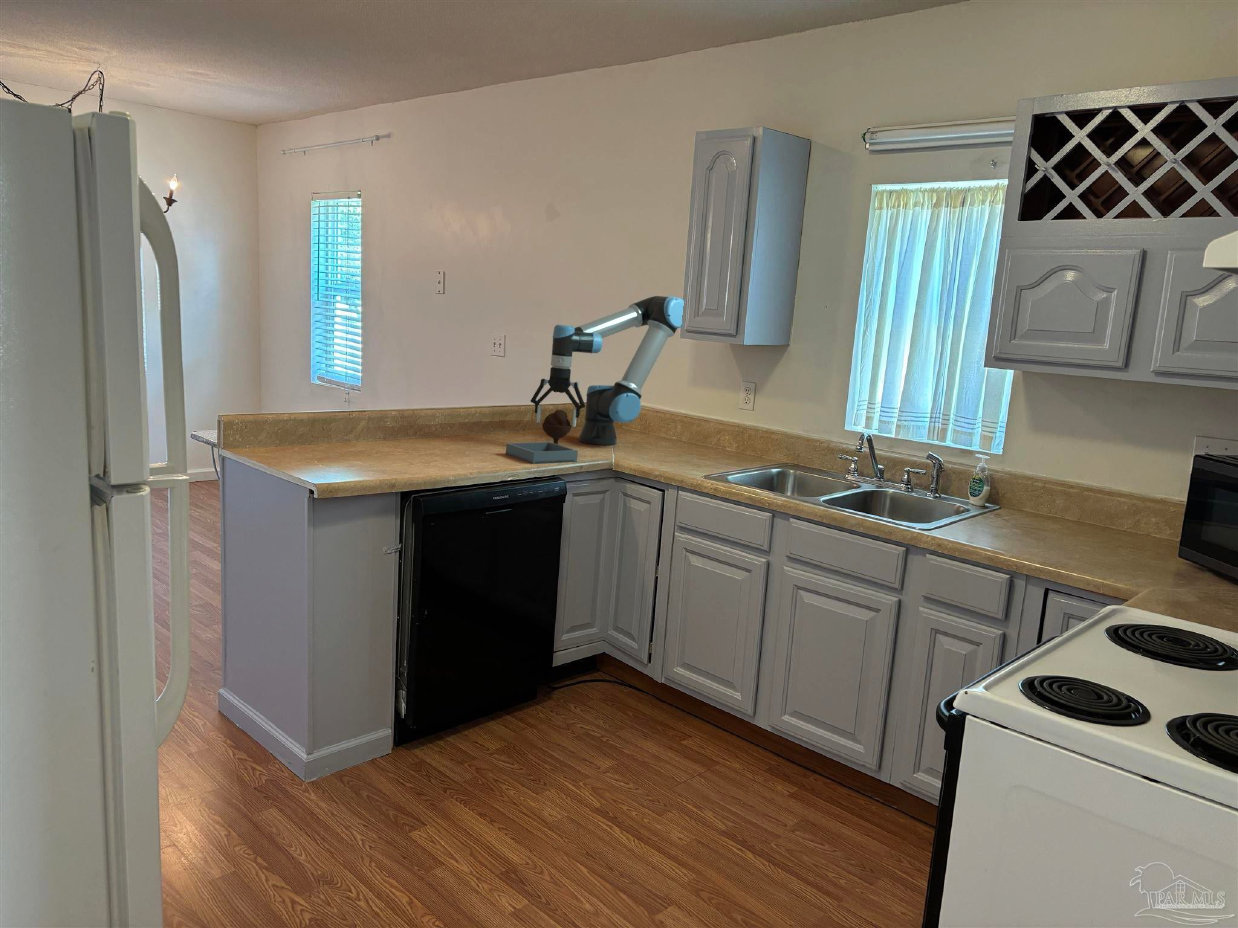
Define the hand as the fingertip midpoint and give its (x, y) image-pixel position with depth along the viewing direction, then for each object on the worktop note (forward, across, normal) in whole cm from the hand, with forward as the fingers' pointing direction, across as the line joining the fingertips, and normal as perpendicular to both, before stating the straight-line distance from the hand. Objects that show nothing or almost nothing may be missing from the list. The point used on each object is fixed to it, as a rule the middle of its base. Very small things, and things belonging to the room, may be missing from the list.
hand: (556, 424), depth 327 cm
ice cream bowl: (+10, 0, 0) cm, 10 cm away
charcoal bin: (+10, 0, -22) cm, 24 cm away
